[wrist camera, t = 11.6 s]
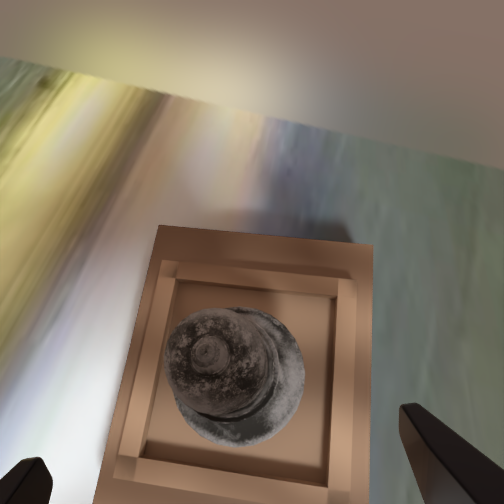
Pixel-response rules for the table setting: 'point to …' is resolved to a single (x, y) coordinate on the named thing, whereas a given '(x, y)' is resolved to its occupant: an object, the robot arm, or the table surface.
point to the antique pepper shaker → (234, 374)
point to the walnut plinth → (315, 364)
